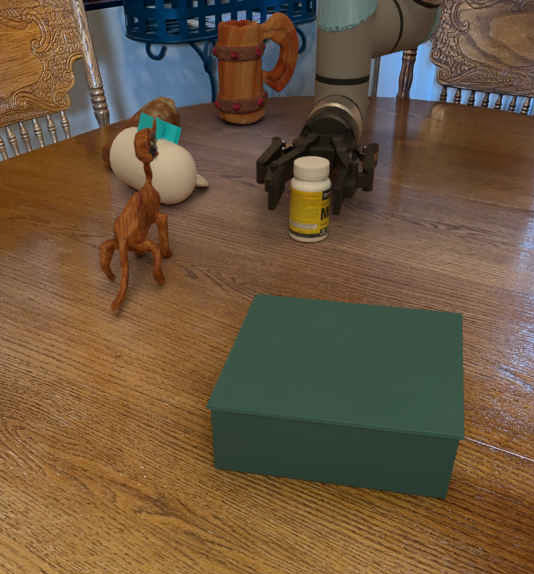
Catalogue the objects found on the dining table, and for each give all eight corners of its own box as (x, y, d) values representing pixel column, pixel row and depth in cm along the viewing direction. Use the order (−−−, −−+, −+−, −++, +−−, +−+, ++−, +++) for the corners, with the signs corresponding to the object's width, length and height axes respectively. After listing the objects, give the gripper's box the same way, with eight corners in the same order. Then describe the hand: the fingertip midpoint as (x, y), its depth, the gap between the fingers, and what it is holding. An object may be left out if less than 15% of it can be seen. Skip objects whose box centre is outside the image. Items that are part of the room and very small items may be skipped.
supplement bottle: (325, 245, 81) (330, 170, 76) (285, 242, 82) (287, 167, 76) (330, 228, 85) (334, 155, 79) (292, 225, 85) (293, 153, 80)
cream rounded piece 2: (170, 126, 82) (119, 104, 89) (151, 205, 86) (104, 178, 93) (244, 150, 90) (192, 128, 97) (224, 220, 94) (176, 195, 101)
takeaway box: (450, 374, 61) (463, 313, 57) (449, 501, 50) (465, 436, 45) (255, 353, 64) (255, 293, 60) (210, 470, 52) (205, 404, 48)
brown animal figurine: (147, 324, 68) (129, 180, 59) (82, 320, 69) (53, 176, 59) (187, 246, 81) (177, 118, 72) (132, 243, 82) (115, 116, 73)
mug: (223, 131, 114) (218, 22, 104) (207, 117, 119) (201, 13, 109) (305, 121, 118) (308, 16, 108) (286, 108, 123) (287, 7, 113)
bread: (183, 135, 112) (180, 97, 108) (128, 175, 99) (123, 133, 95) (148, 131, 113) (144, 93, 110) (89, 170, 100) (82, 128, 96)
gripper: (401, 170, 94) (389, 241, 77) (259, 160, 96) (218, 227, 80) (408, 108, 89) (398, 170, 72) (259, 100, 91) (215, 158, 75)
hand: (303, 200), depth 76 cm, fingers open, 6 cm apart
